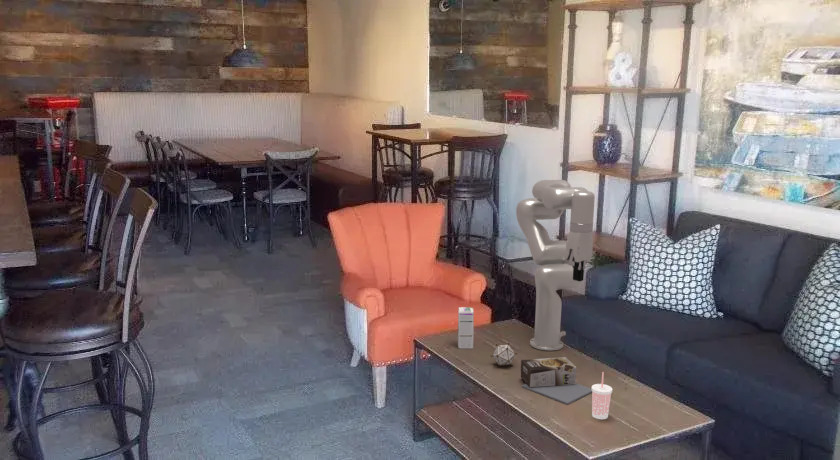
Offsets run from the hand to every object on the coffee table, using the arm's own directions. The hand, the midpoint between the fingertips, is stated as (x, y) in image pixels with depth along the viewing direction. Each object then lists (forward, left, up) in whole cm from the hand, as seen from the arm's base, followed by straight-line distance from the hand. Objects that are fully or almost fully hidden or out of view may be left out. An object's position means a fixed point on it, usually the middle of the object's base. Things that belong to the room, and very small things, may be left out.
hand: (577, 280), depth 248 cm
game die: (+16, -18, -32) cm, 40 cm away
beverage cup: (+25, +27, -32) cm, 49 cm away
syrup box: (+12, -40, -32) cm, 53 cm away
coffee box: (+10, +6, -28) cm, 30 cm away
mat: (+19, +7, -32) cm, 38 cm away
